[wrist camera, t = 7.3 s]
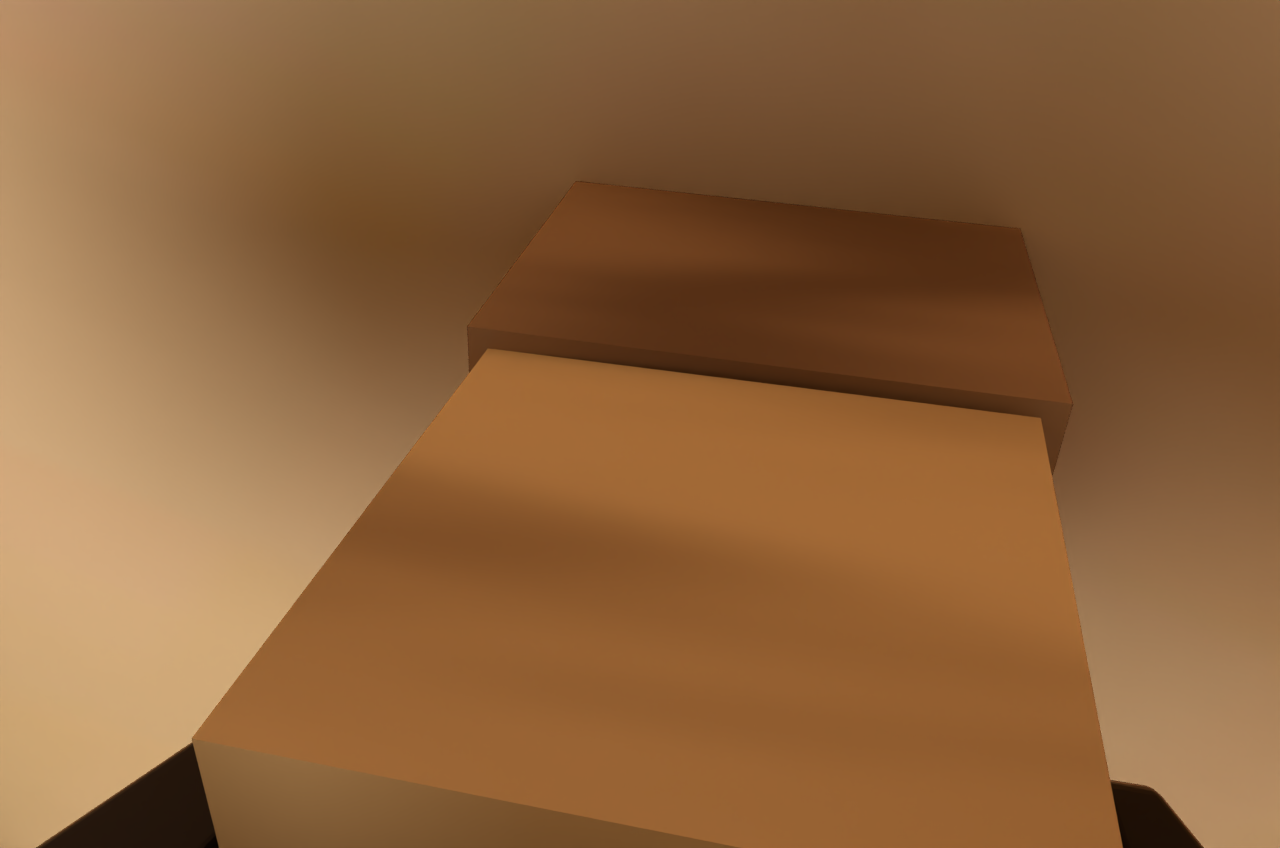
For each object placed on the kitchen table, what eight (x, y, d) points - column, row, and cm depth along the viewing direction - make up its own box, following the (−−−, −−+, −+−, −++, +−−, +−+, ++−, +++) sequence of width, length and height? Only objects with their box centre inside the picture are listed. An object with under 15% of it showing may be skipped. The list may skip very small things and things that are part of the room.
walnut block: (1018, 221, 12) (1073, 404, 8) (935, 574, 14) (951, 824, 11) (580, 175, 12) (466, 326, 9) (573, 520, 15) (483, 740, 12)
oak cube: (943, 812, 11) (956, 1369, 7) (506, 730, 11) (305, 1193, 8) (1040, 417, 8) (1137, 926, 5) (487, 347, 9) (191, 737, 5)
